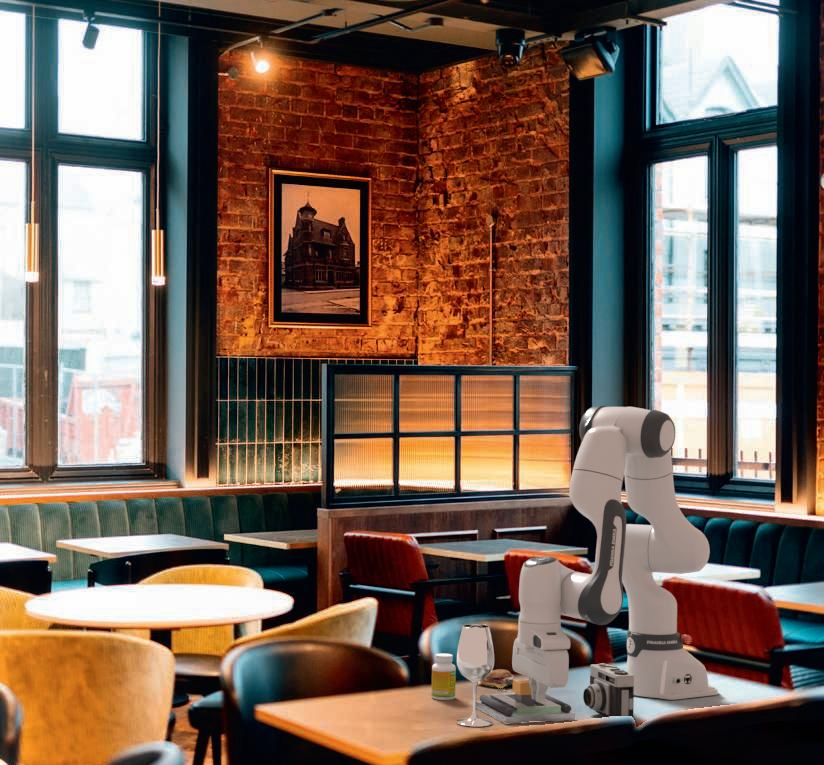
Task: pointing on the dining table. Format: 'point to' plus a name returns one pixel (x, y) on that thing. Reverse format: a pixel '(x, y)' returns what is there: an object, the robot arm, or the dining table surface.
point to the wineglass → (475, 664)
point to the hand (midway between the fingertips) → (538, 701)
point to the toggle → (523, 692)
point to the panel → (525, 710)
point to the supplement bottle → (443, 677)
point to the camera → (610, 691)
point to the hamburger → (498, 679)
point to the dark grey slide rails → (509, 711)
